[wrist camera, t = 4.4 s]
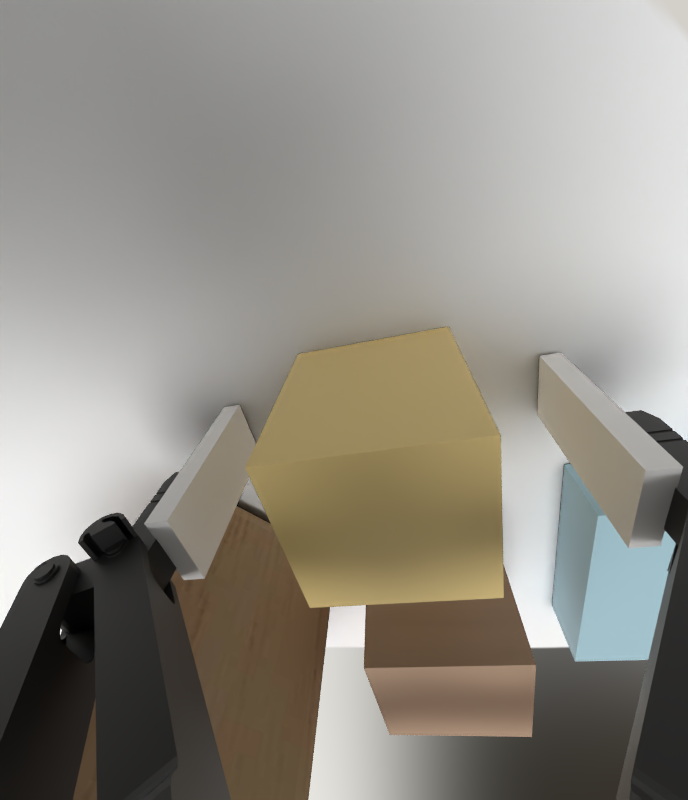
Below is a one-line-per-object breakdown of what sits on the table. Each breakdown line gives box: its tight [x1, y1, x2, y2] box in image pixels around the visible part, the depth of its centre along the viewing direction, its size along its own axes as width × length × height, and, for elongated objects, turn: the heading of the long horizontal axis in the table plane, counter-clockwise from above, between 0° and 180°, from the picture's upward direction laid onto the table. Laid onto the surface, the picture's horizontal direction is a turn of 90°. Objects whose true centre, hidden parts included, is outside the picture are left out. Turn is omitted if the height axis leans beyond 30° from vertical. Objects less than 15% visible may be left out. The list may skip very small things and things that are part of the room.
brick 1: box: [245, 327, 504, 608], centre depth 13 cm, size 6×6×7 cm
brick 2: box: [364, 565, 536, 737], centre depth 18 cm, size 6×6×7 cm
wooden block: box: [73, 506, 330, 800], centre depth 14 cm, size 10×10×20 cm
